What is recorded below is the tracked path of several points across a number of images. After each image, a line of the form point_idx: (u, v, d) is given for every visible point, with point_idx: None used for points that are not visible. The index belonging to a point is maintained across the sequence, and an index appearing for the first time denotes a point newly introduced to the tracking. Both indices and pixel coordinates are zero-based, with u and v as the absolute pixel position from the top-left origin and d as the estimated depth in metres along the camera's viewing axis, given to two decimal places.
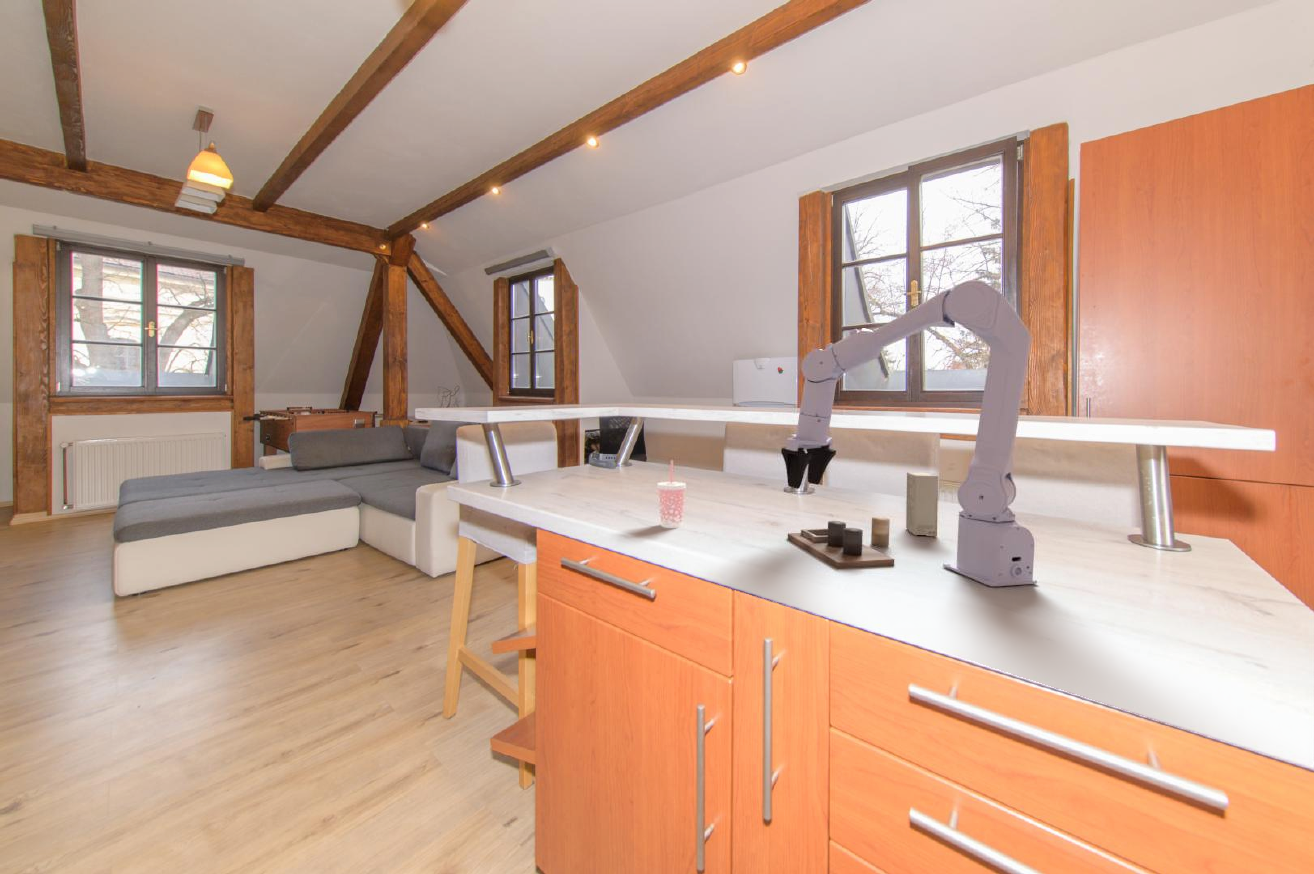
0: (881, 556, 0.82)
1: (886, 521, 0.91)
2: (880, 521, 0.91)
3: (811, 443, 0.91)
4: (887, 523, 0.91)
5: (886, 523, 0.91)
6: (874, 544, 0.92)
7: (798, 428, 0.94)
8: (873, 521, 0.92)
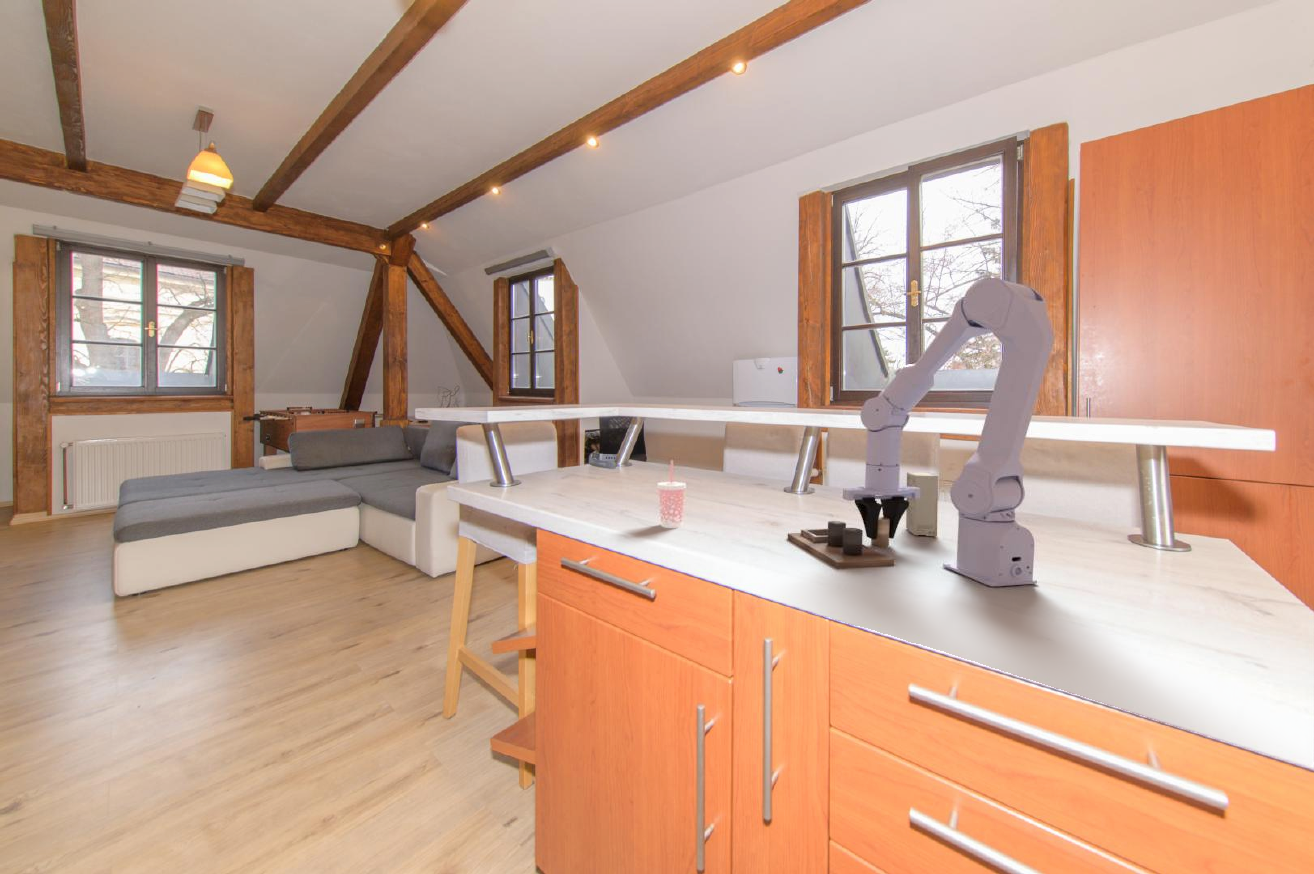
0: (881, 556, 0.82)
1: (886, 521, 0.91)
2: (880, 521, 0.91)
3: (870, 493, 0.89)
4: (887, 523, 0.91)
5: (886, 523, 0.91)
6: (874, 544, 0.92)
7: None
8: None
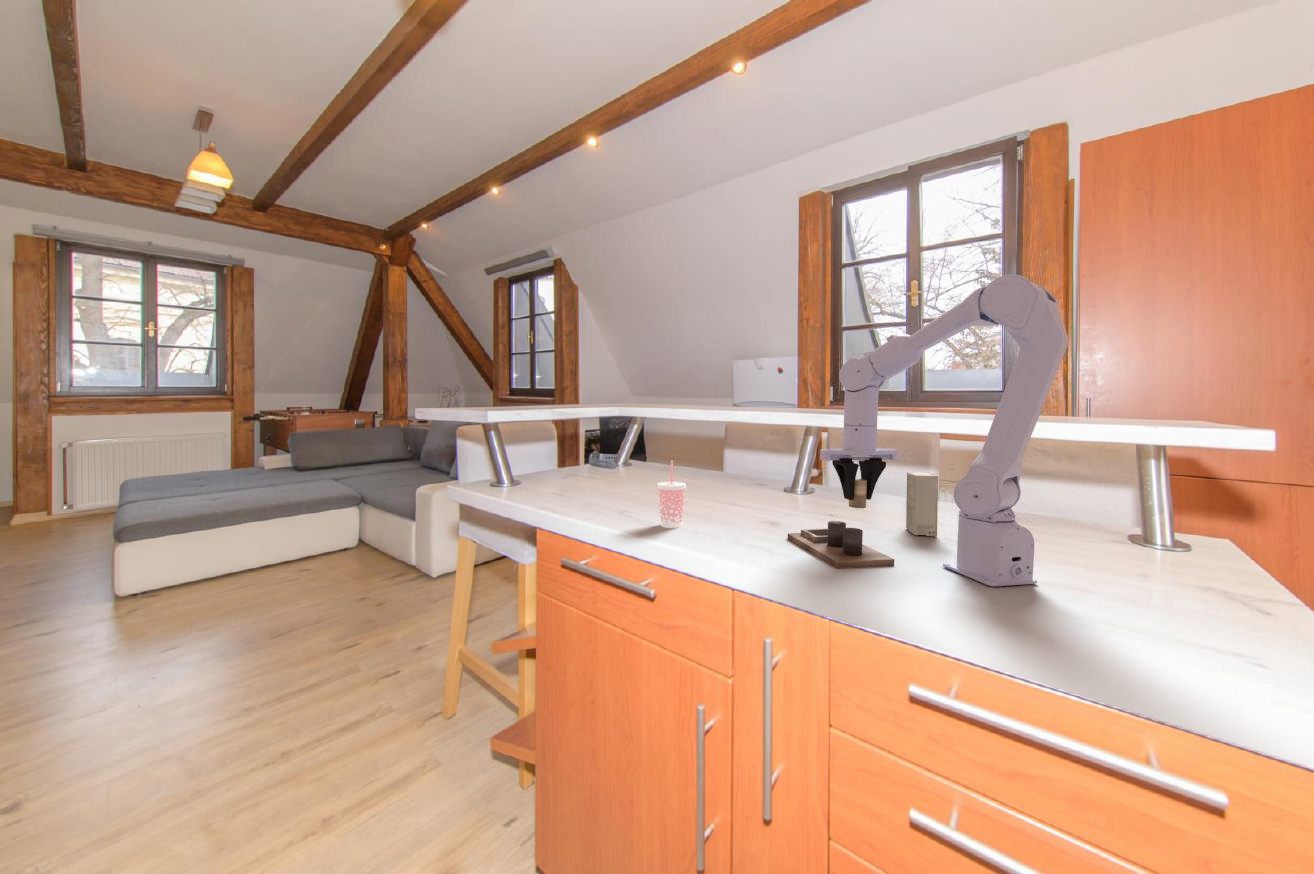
0: (881, 556, 0.82)
1: (863, 482, 0.91)
2: (857, 482, 0.91)
3: (847, 453, 0.89)
4: (864, 484, 0.91)
5: (863, 483, 0.91)
6: (851, 505, 0.92)
7: None
8: None
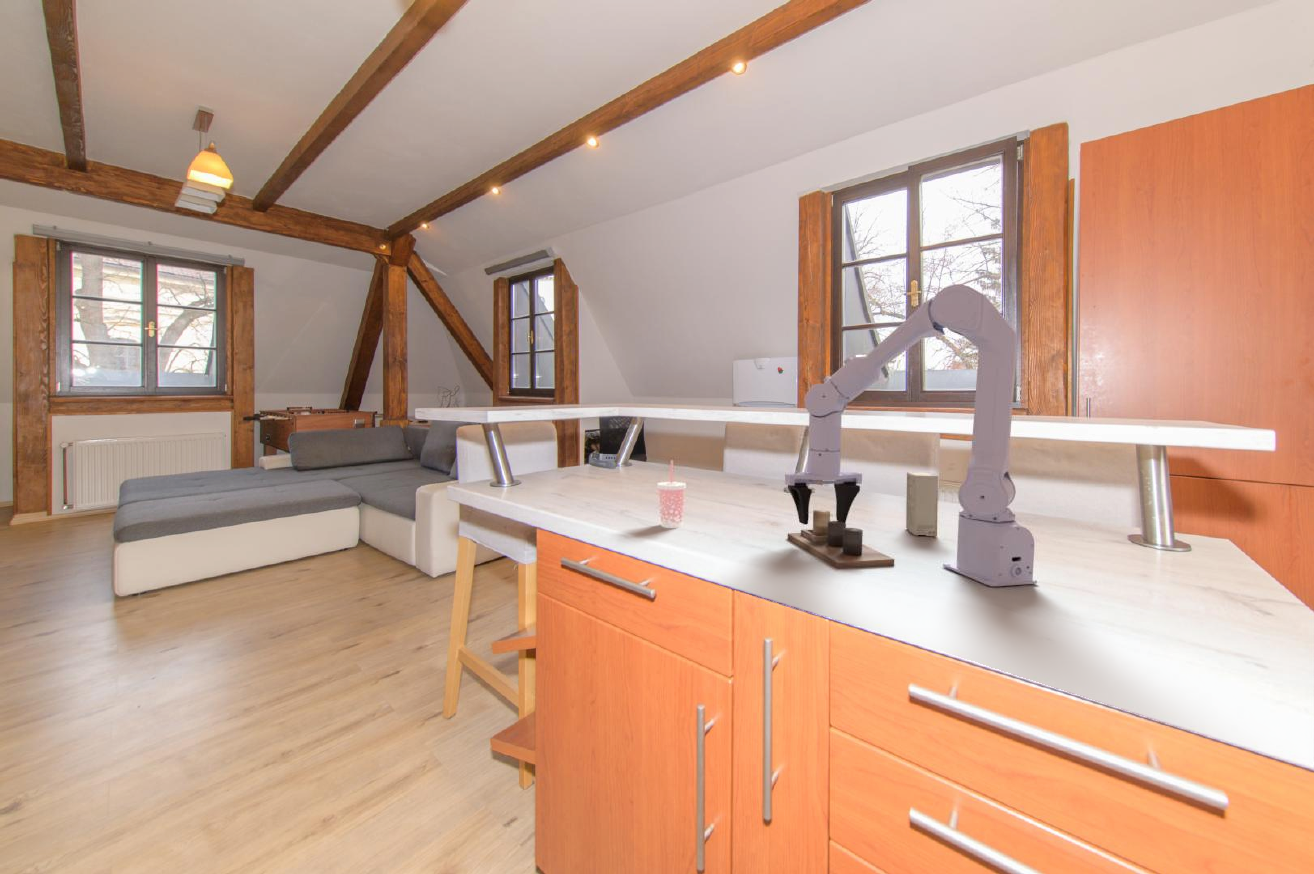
0: (881, 556, 0.82)
1: (826, 514, 0.92)
2: (821, 514, 0.92)
3: (811, 477, 0.90)
4: (827, 516, 0.92)
5: (826, 515, 0.92)
6: None
7: None
8: (814, 514, 0.93)
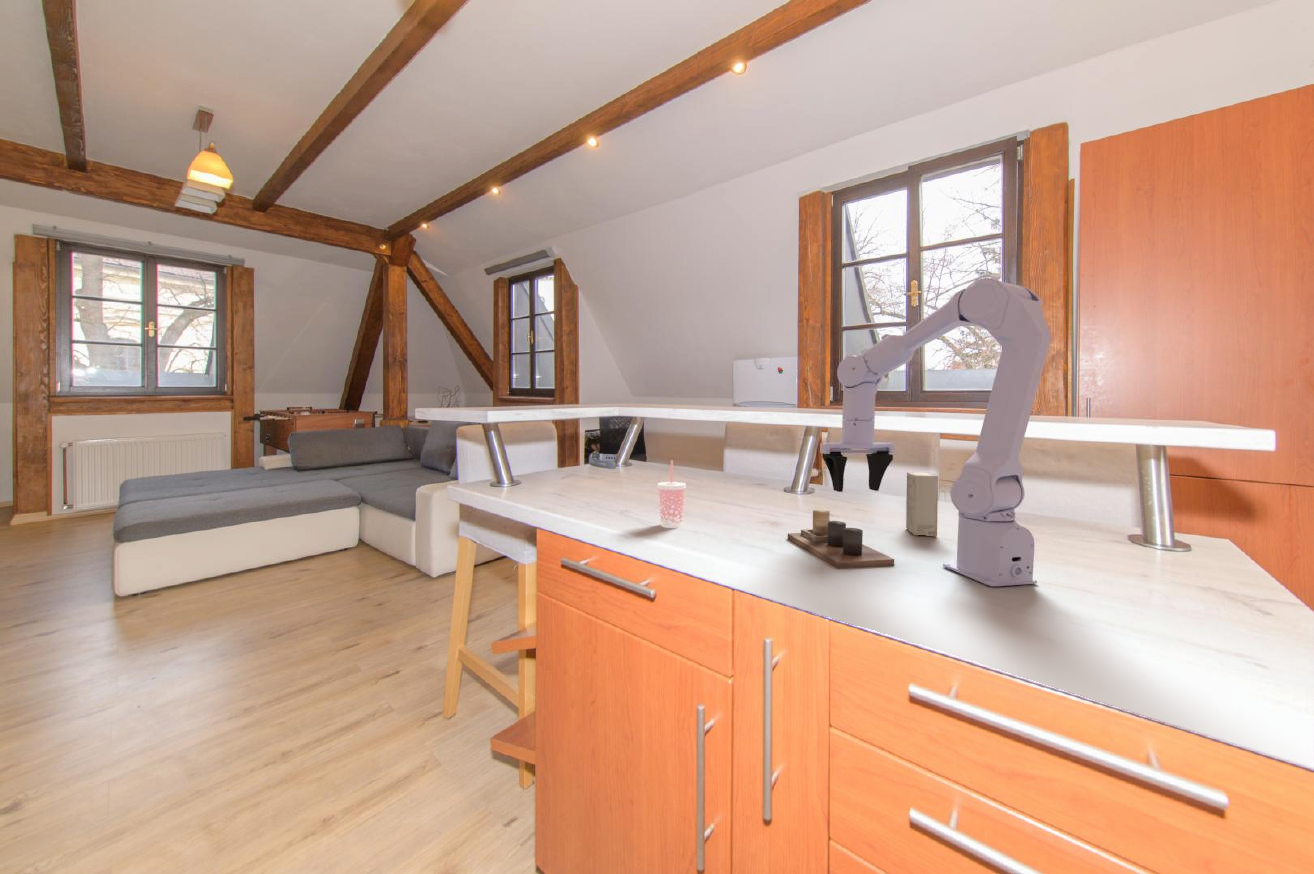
0: (881, 556, 0.82)
1: (826, 513, 0.92)
2: (821, 513, 0.92)
3: (846, 446, 0.93)
4: (827, 515, 0.92)
5: (826, 515, 0.92)
6: None
7: None
8: (814, 514, 0.93)
